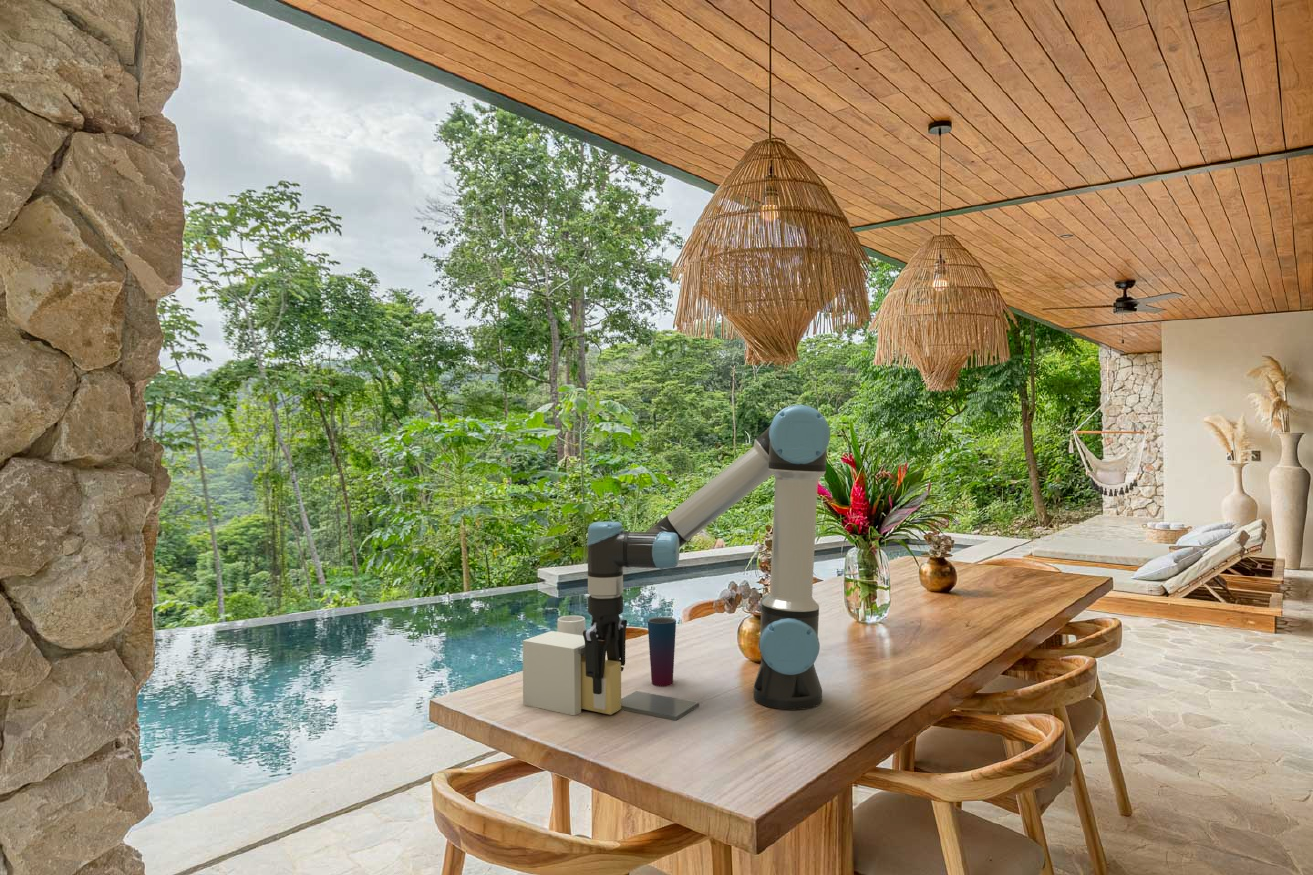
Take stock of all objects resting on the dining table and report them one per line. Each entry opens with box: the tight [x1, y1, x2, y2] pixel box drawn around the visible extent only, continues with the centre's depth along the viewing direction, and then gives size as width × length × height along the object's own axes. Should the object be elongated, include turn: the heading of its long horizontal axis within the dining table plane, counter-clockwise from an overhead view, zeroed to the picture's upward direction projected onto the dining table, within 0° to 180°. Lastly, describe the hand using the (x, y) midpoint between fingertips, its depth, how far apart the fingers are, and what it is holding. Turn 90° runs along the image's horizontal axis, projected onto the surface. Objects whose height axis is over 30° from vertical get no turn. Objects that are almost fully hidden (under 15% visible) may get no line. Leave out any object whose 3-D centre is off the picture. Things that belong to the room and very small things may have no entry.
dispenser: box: [522, 630, 602, 717], centre depth 172 cm, size 15×10×14 cm
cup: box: [647, 616, 677, 687], centre depth 185 cm, size 7×7×15 cm
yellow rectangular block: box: [581, 656, 622, 715], centre depth 168 cm, size 14×4×10 cm, turn 60°
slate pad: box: [620, 690, 700, 721], centre depth 169 cm, size 16×10×1 cm, turn 59°
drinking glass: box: [556, 615, 587, 636], centre depth 188 cm, size 7×7×15 cm
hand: (606, 704), depth 166 cm, fingers closed on yellow rectangular block, 4 cm apart
